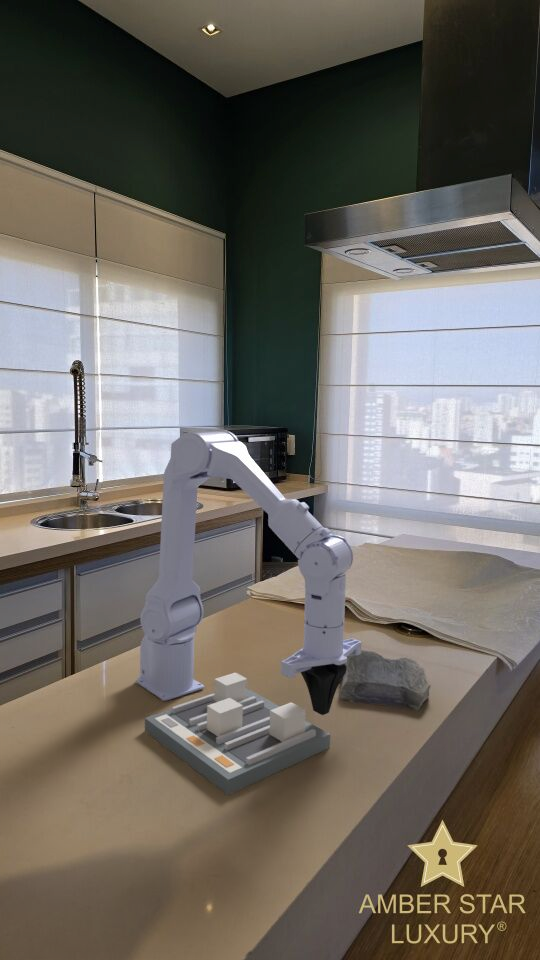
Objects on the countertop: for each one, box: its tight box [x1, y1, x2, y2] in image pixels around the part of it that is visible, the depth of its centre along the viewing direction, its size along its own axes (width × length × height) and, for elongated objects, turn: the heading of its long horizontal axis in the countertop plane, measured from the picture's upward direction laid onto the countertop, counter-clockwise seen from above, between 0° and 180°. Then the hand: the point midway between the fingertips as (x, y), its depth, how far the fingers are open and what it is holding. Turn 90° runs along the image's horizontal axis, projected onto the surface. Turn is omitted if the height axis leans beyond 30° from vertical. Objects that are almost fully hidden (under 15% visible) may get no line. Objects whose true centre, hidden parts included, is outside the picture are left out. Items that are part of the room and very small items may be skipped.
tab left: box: [213, 671, 248, 702], centre depth 102 cm, size 3×4×4 cm
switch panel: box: [144, 688, 331, 796], centre depth 95 cm, size 20×18×3 cm
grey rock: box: [338, 649, 431, 712], centre depth 114 cm, size 15×16×4 cm
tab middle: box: [207, 698, 243, 736], centre depth 93 cm, size 3×4×4 cm
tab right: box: [269, 701, 307, 742], centre depth 93 cm, size 3×4×4 cm
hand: (320, 711), depth 97 cm, fingers closed
